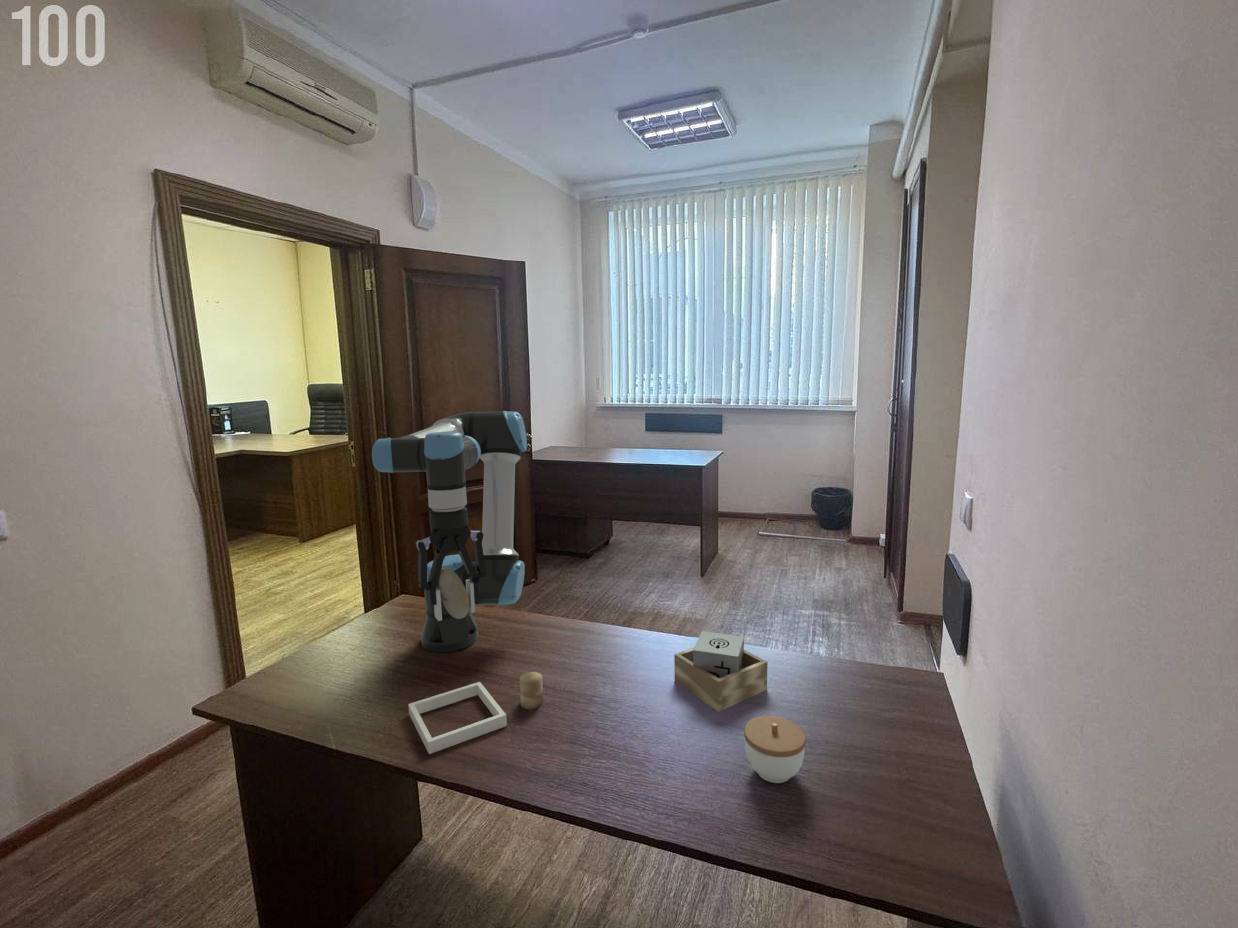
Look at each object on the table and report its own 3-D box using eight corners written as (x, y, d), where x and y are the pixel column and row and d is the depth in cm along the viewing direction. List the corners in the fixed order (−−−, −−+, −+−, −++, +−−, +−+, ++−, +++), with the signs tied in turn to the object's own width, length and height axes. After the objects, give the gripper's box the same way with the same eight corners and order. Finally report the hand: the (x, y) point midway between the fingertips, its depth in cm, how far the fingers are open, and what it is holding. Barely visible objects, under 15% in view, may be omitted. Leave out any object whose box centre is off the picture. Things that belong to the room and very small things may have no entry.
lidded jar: (771, 745, 111) (772, 700, 110) (817, 776, 102) (819, 728, 101) (731, 766, 106) (731, 719, 104) (775, 801, 97) (776, 750, 95)
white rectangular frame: (480, 691, 132) (479, 681, 132) (506, 725, 119) (506, 714, 119) (409, 714, 124) (408, 703, 124) (429, 754, 111) (428, 742, 110)
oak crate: (721, 663, 143) (721, 637, 142) (766, 690, 131) (767, 661, 130) (674, 681, 135) (674, 654, 134) (718, 712, 123) (718, 681, 122)
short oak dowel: (537, 694, 131) (536, 669, 130) (547, 704, 127) (545, 679, 126) (517, 701, 128) (515, 676, 127) (526, 711, 124) (525, 686, 123)
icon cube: (737, 698, 126) (738, 656, 125) (693, 691, 130) (693, 649, 128) (743, 676, 136) (744, 636, 134) (701, 669, 139) (701, 631, 137)
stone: (475, 617, 122) (472, 563, 120) (455, 629, 116) (452, 572, 115) (454, 612, 124) (451, 560, 123) (434, 624, 119) (430, 569, 117)
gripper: (486, 498, 125) (492, 598, 128) (394, 510, 115) (403, 619, 118) (499, 504, 119) (505, 609, 122) (403, 518, 108) (412, 632, 112)
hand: (455, 614), depth 120 cm, fingers closed on stone, 6 cm apart
